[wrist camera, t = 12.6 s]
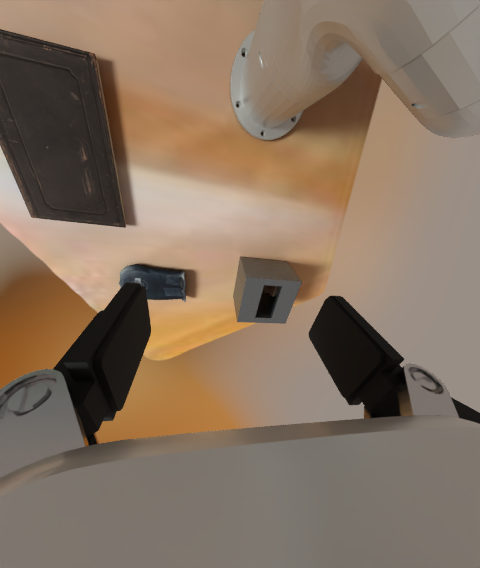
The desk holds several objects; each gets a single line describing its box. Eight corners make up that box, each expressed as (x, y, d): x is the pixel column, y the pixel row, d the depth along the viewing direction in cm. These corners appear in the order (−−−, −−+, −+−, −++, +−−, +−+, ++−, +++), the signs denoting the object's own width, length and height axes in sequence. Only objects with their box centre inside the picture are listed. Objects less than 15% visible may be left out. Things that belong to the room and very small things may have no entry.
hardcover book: (102, 61, 26) (93, 53, 24) (129, 224, 38) (124, 227, 36) (-39, 26, 23) (-62, 13, 21) (38, 214, 35) (28, 217, 33)
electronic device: (185, 261, 45) (116, 261, 41) (186, 275, 41) (109, 276, 37) (186, 289, 51) (125, 292, 47) (186, 304, 47) (120, 308, 43)
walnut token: (263, 267, 45) (281, 276, 43) (267, 265, 46) (284, 273, 44) (257, 287, 48) (273, 296, 46) (261, 284, 50) (277, 293, 47)
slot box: (240, 256, 44) (246, 277, 36) (286, 261, 46) (301, 281, 38) (233, 296, 50) (237, 321, 42) (274, 298, 53) (285, 323, 44)
